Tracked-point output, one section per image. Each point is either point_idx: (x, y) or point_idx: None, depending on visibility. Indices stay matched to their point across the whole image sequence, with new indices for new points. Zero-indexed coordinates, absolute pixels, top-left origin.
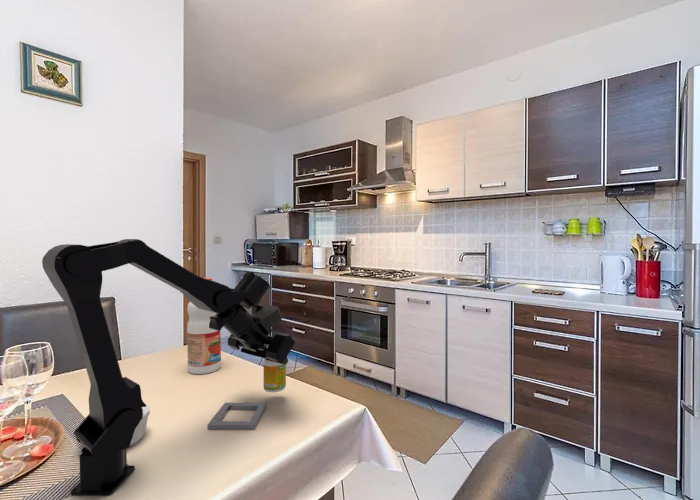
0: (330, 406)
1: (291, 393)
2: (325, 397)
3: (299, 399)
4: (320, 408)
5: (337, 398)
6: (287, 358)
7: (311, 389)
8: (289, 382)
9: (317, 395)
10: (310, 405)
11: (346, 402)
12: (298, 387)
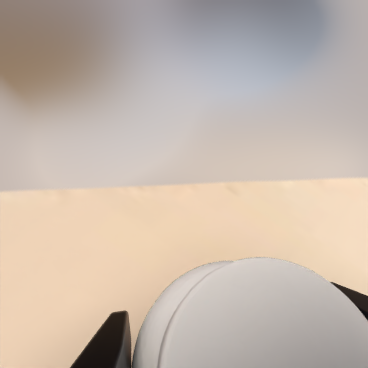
0: (359, 233)
1: (188, 263)
2: (293, 203)
3: None
4: (357, 265)
5: (320, 184)
6: (363, 295)
7: (211, 195)
8: (101, 209)
9: (265, 210)
10: None
11: (358, 185)
12: (164, 214)
